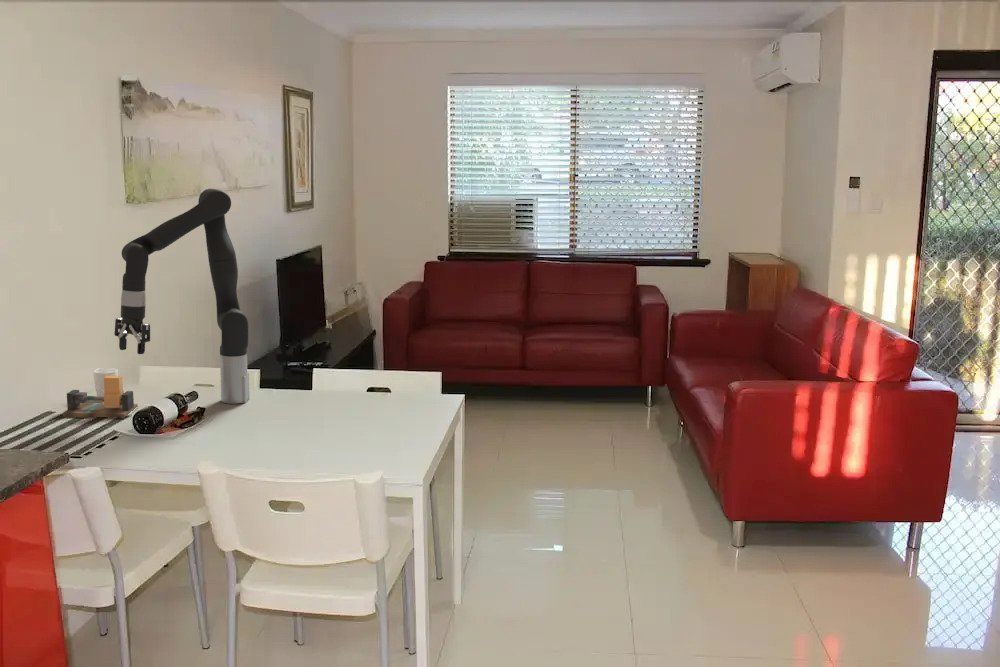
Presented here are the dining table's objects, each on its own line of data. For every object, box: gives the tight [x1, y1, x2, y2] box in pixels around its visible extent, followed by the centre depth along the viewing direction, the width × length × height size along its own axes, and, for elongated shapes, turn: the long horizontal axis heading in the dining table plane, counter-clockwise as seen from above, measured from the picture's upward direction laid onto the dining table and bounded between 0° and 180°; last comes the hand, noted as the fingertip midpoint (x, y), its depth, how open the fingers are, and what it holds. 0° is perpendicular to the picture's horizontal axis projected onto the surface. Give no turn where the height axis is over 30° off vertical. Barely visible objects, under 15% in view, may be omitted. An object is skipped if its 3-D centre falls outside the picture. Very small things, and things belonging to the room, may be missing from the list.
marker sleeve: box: [103, 375, 125, 407], centre depth 302 cm, size 5×4×10 cm
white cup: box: [93, 367, 119, 396], centre depth 320 cm, size 8×8×10 cm
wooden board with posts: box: [62, 389, 139, 418], centre depth 303 cm, size 20×12×7 cm, turn 92°
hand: (131, 351), depth 300 cm, fingers open, 8 cm apart
